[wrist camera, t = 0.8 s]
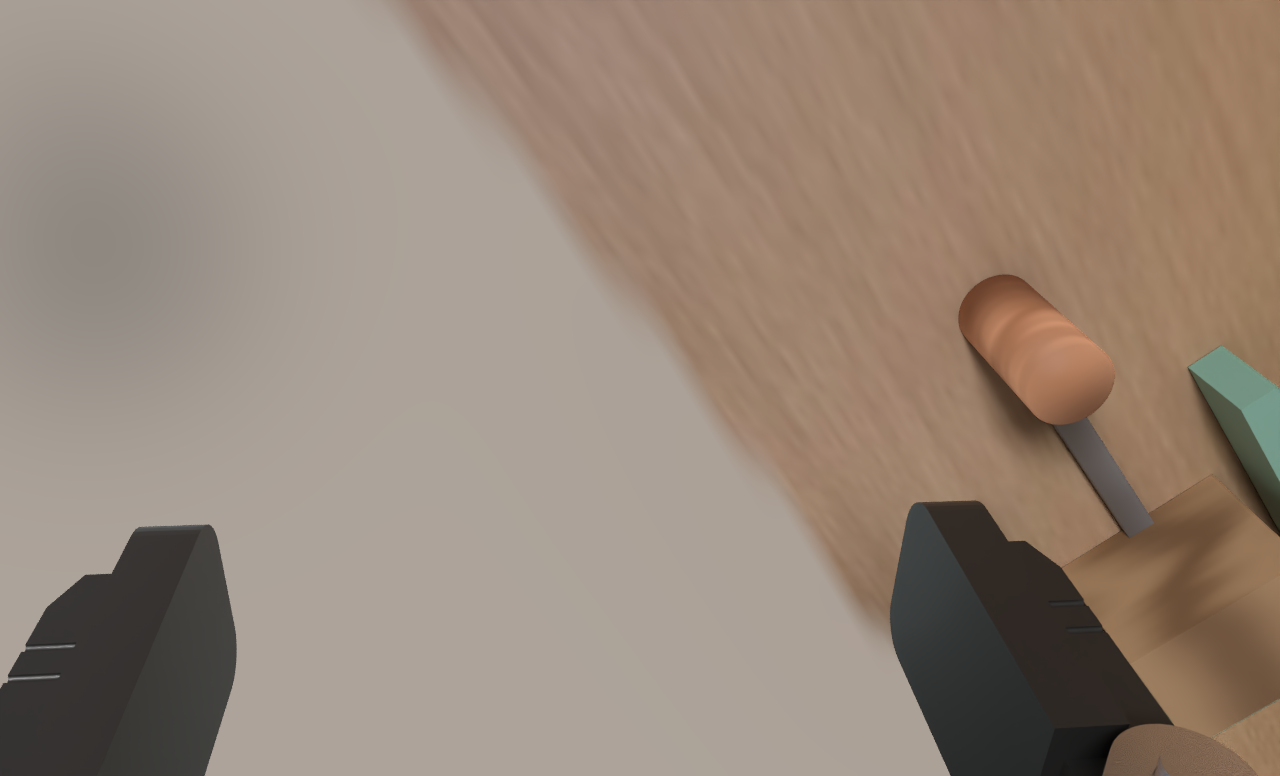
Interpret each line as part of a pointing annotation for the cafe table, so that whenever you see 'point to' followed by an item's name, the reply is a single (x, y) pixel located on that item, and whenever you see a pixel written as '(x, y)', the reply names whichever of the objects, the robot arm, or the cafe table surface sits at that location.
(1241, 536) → the block
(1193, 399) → the cafe table surface
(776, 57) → the cafe table surface
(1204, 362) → the rack
